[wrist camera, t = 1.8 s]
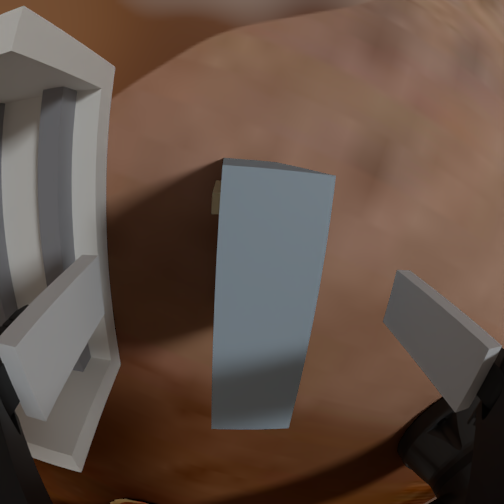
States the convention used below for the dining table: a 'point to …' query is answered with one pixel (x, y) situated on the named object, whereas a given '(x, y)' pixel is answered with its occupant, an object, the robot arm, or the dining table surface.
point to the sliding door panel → (265, 287)
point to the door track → (20, 165)
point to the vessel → (126, 501)
